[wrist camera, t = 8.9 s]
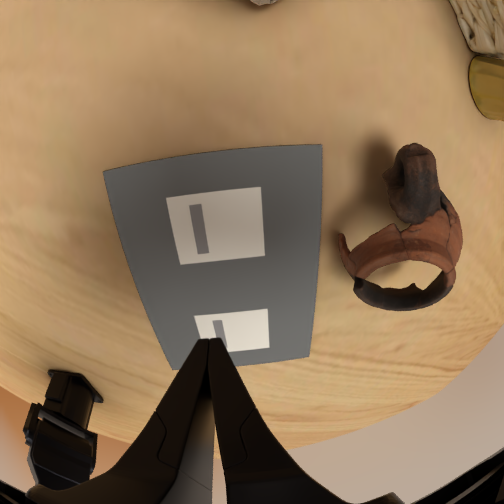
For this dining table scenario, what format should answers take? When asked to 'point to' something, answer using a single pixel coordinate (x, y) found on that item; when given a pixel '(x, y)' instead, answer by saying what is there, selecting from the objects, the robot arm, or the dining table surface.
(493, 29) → the storage basket
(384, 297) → the brown curved piece
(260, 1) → the stereo radio cassette player
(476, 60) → the vase
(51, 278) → the dining table surface
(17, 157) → the dining table surface
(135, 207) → the label mat
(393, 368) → the dining table surface
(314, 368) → the dining table surface
